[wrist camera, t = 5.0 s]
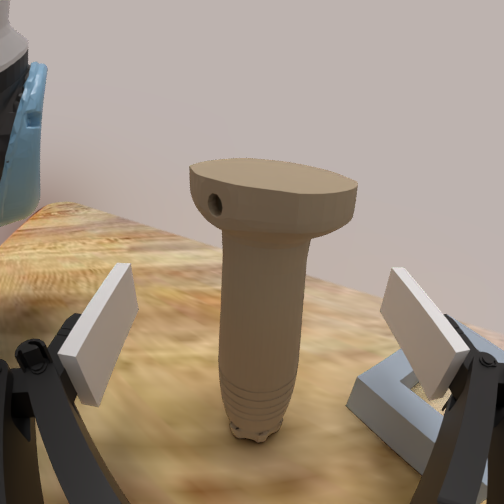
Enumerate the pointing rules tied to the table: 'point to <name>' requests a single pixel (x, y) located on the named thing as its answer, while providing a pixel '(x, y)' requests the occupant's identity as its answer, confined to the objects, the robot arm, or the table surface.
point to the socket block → (406, 407)
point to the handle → (265, 274)
